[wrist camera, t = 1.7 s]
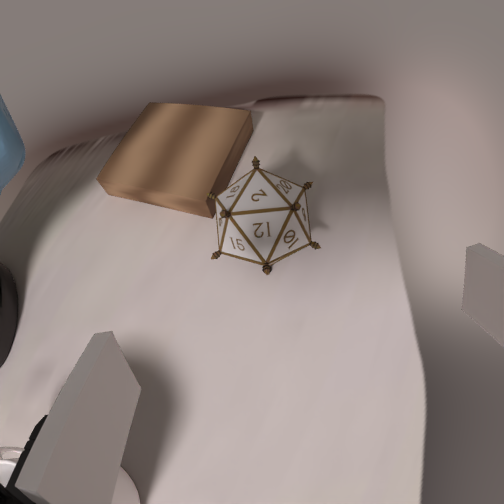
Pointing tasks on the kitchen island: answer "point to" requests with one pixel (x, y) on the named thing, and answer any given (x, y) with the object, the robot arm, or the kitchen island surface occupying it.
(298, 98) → the kitchen island surface
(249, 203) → the game die
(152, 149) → the pedestal
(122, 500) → the mug
